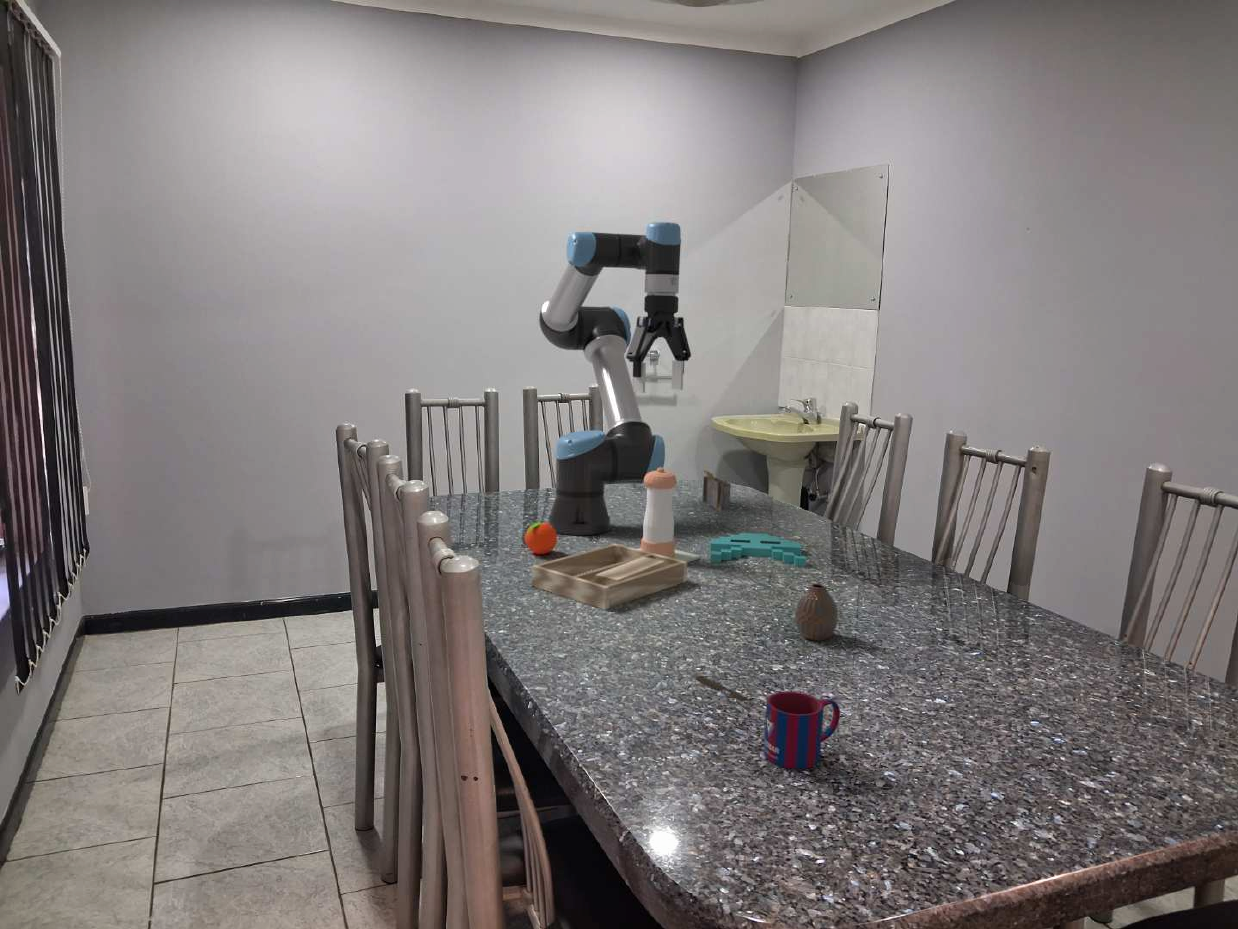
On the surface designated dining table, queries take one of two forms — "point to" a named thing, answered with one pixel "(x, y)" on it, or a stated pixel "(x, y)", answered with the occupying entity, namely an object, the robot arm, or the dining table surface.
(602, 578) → the upper offcut
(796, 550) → the alien figure
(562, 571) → the rack
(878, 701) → the dining table surface
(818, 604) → the vase
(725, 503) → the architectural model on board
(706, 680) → the thin brown sliver
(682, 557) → the mat
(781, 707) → the mug
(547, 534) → the clementine
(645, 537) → the salt shaker
